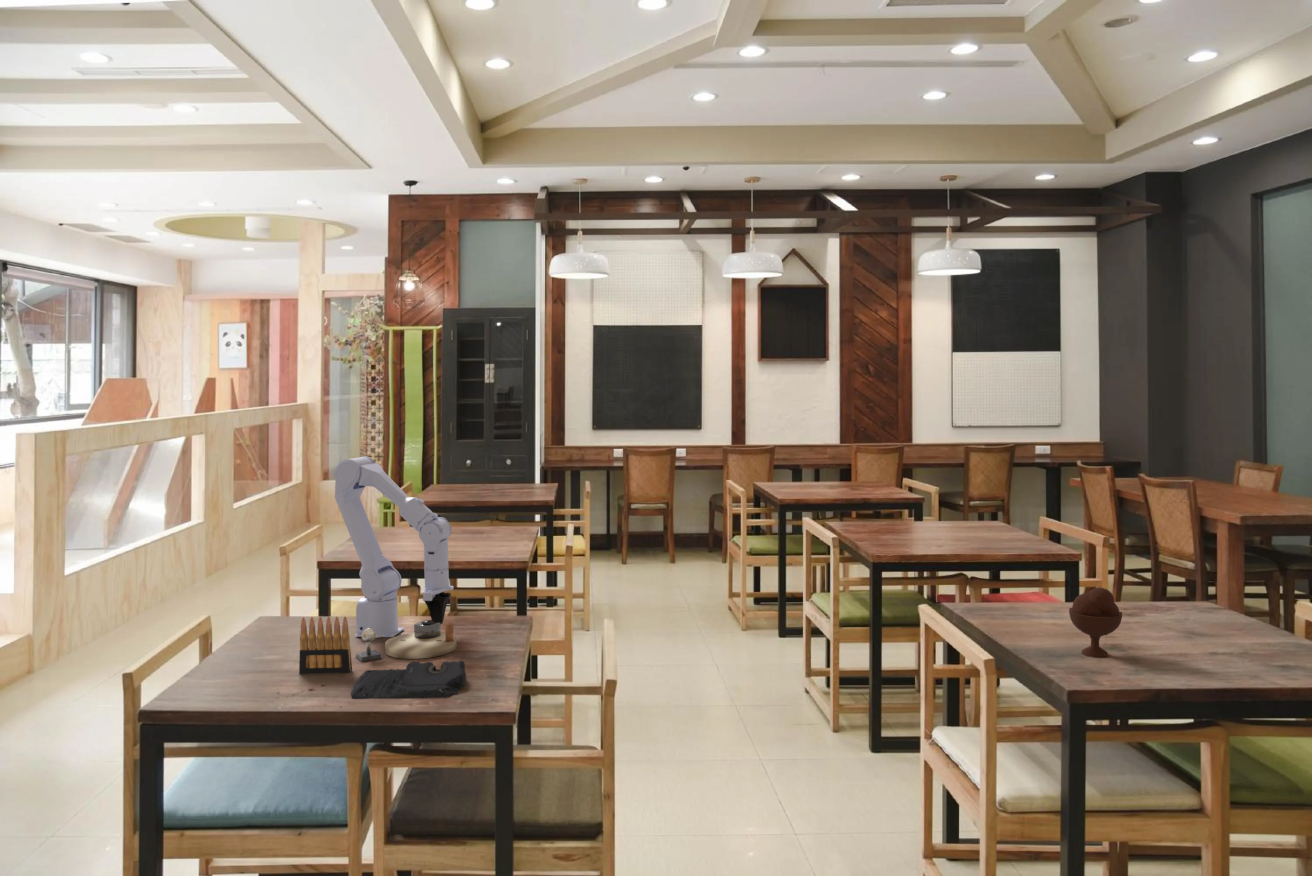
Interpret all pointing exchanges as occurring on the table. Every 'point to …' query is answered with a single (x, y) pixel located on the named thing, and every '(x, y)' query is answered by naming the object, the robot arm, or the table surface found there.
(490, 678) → the table surface
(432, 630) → the iron cover
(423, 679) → the black folded garment
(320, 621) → the ammunition clip
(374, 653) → the grey and clear piece
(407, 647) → the turntable
